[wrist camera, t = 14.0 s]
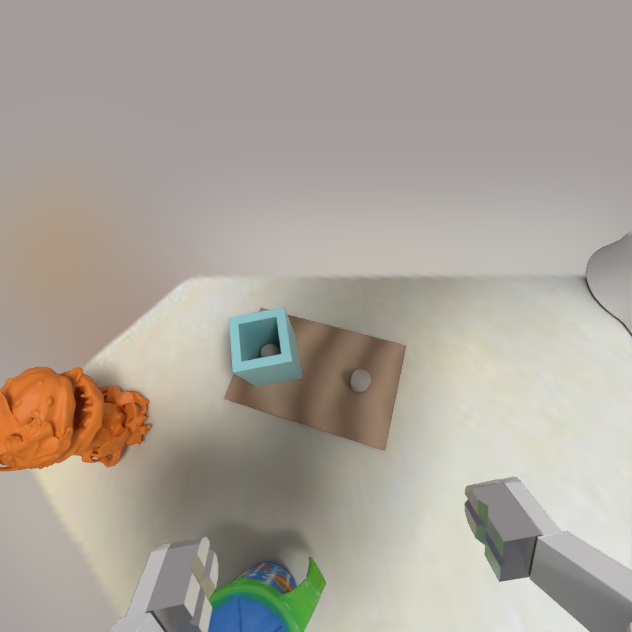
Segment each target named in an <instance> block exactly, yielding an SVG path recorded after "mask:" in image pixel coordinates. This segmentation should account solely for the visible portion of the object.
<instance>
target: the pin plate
mask: <svg viewBox="0 0 632 632" xmlns="http://www.w3.org/2000/svg"><path fill="white" fill-rule="evenodd" d="M267 310H268V309H264V308H261V309H260V311H259V312H261V311H267ZM287 316H288V318H289V321H290V323H291V325H292V328H293V330H294V333H295V335H296V342H297V348H298V354H299V361H300V367H301V373H302V378H301V379H295V380H290V381H285V382H279V383H274V384H269V385H264V386H258V387H256V386H254V385H253V384H251V383H249V382H248V381H246V380H244V379H243V378H241V377H239V376H238V375H236V374H234V376H233V379H232V381H231V384H230V386H229V389H228V391H227V394H226V396H225V399H227V400H230V401H233V402H236V403H240V404H243V405H246V406H249V407H252V408H255V409H258V410H261V411H264V412H267V413H270V414H273V415H276V416H280V417H283V418H286V419H289V420H292V421H295V422H298V423H301V424H304V425H307V426H310V427H313V428H316V429H320V430H323V431H326V432H329V433H332V434H335V435H338V436H341V437H344V438H347V439H350V440H353V441H357V442H360V443H363V444H366V445H369V446H372V447H375V448H378V449H381V450H384V451H385V448H386V443H387V438H388V433H389V428H390V423H391V418H392V413H393V408H394V403H395V398H396V393H397V388H398V383H399V378H400V374H401V369H402V364H403V359H404V354H405V349H406V346H405V345H401V344H398V343H394V342H390V341H386V340H382V339H378V338H375V337H371V336H367V335H363V334H359V333H355V332H352V331H348V330H344V329H340V328H336V327H333V326H329V325H325V324H321V323H317V322H313V321H310V320H306V319H302V318H298V317H294V316H290V315H287ZM279 354H281V347H280V344H279V345H274V344H267V345H265V346H264V347H263V348H260V356H261V358H263V357H268V356H274V355H279Z"/></svg>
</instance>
